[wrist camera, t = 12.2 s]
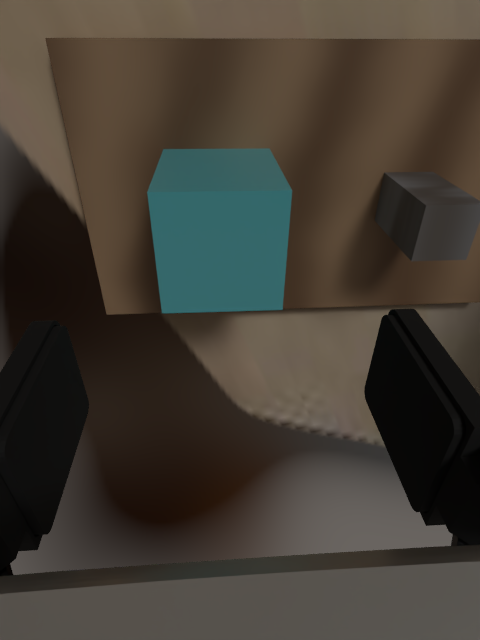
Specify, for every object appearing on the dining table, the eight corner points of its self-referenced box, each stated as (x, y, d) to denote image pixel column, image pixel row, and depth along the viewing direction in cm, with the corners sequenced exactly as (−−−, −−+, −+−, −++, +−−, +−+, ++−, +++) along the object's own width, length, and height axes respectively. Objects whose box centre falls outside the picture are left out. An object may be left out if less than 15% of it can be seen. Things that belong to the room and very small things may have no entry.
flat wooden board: (573, 40, 19) (698, 42, 14) (475, 294, 27) (533, 351, 22) (52, 38, 18) (-5, 39, 13) (109, 305, 26) (87, 369, 21)
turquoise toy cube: (269, 148, 20) (292, 190, 15) (264, 245, 23) (282, 309, 18) (163, 149, 20) (147, 192, 15) (172, 247, 23) (161, 313, 18)
